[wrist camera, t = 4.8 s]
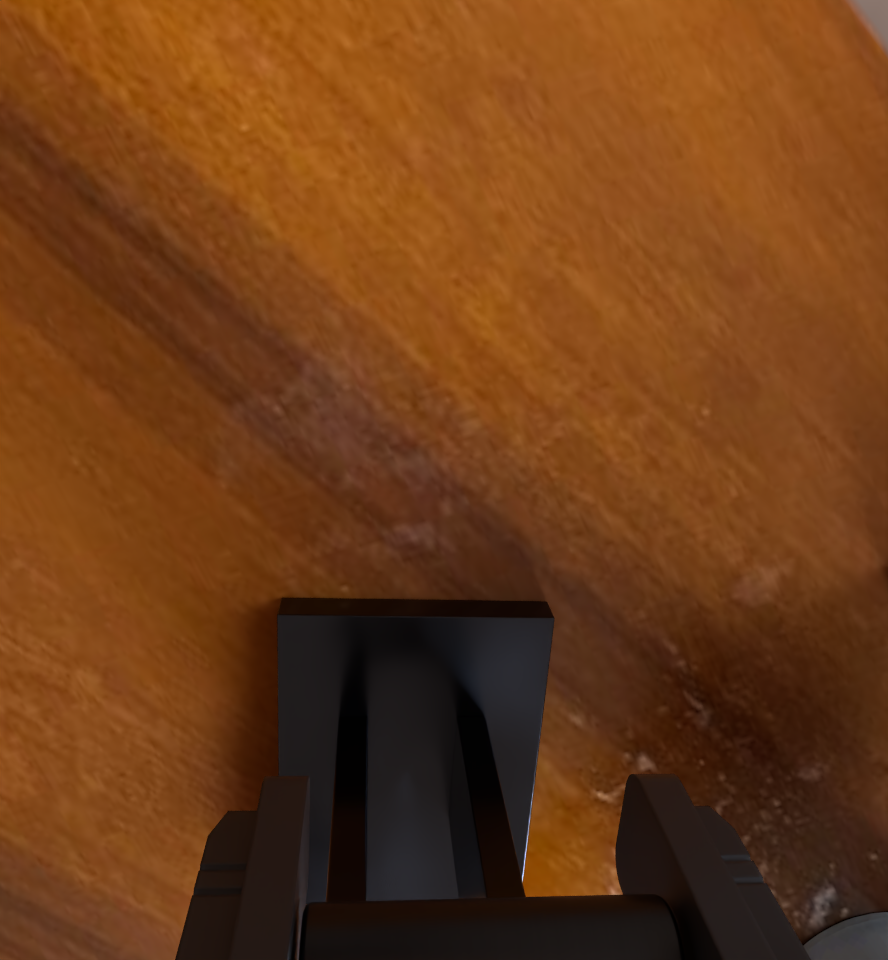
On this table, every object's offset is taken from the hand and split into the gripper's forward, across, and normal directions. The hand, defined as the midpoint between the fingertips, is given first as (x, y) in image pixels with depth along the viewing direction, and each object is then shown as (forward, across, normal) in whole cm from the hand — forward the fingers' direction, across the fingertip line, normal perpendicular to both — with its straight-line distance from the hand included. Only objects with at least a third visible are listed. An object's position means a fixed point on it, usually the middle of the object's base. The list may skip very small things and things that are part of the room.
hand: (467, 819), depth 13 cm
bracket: (+13, 0, +9) cm, 16 cm away
